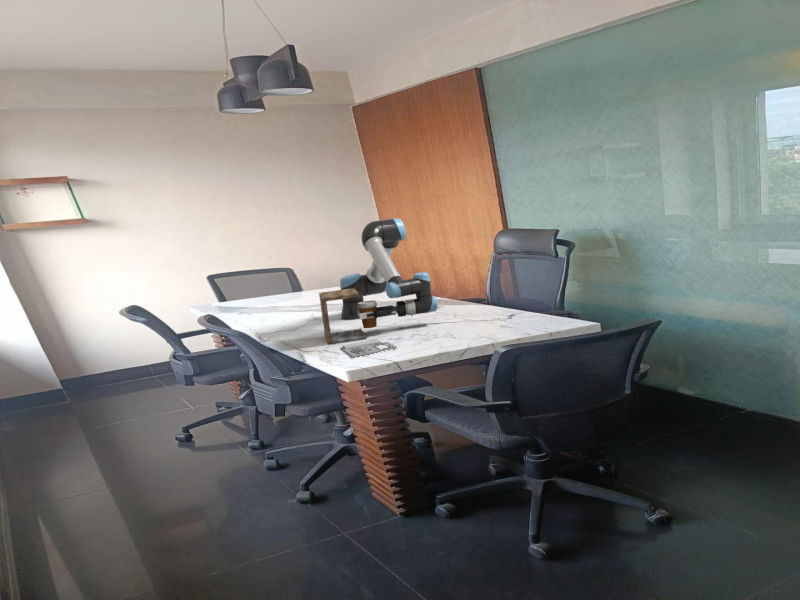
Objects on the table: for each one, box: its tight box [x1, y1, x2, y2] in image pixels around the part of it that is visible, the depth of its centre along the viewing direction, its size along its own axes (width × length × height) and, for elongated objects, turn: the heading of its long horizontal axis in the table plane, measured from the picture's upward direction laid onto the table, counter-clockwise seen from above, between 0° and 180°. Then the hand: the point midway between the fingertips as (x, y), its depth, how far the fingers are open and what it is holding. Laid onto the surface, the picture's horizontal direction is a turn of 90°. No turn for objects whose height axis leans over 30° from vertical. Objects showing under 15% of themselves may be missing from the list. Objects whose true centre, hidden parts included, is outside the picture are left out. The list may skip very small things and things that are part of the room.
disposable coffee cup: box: [357, 300, 378, 329], centre depth 321 cm, size 10×10×12 cm
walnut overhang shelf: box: [318, 288, 368, 346], centre depth 319 cm, size 18×22×22 cm
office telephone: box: [339, 338, 398, 359], centre depth 291 cm, size 23×3×20 cm
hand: (358, 315), depth 320 cm, fingers closed on disposable coffee cup, 8 cm apart
